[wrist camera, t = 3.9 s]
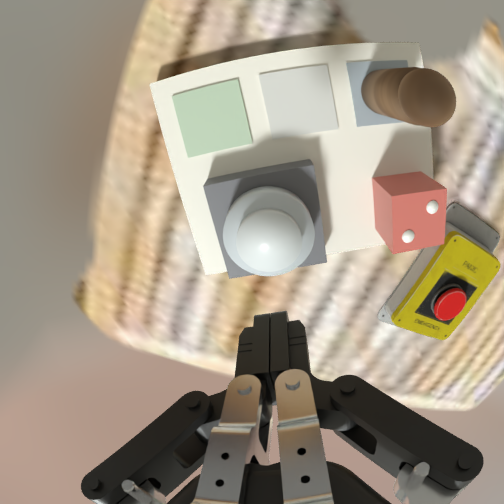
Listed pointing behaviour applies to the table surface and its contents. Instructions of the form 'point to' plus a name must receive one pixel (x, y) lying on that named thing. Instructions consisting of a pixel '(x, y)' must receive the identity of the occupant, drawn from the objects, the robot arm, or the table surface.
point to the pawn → (410, 95)
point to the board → (288, 141)
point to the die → (409, 211)
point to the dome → (268, 231)
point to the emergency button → (445, 278)
